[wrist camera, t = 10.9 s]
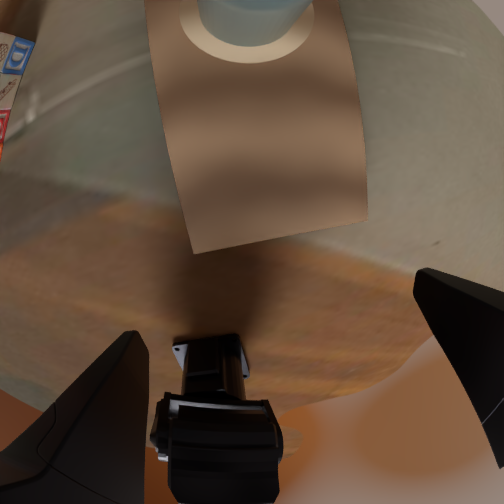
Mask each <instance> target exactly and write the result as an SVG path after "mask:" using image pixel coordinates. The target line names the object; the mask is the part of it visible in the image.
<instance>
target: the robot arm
mask: <svg viewBox="0 0 504 504" xmlns="http://www.w3.org/2000/svg"><path fill="white" fill-rule="evenodd" d="M413 296H414V298H415V300H416V302H417V304H418V306H419V308H420V310H421V312H422V313H423V315H424V317H425V319H426V321H427V323H428V325H429V327H430V329H431V331H432V333H433V334H434V336H435V338H436V339H437V341H438V343H439V344H440V346H441V347H442V349H443V351H444V353H445V354H446V356H447V358H448V360H449V361H450V363H451V365H452V367H453V368H454V370H455V372H456V374H457V375H458V377H459V379H460V381H461V383H462V385H463V387H464V388H465V391H466V393H467V394H468V396H469V398H470V400H471V402H472V405H473V407H474V409H475V411H476V413H477V415H478V417H479V419H480V421H481V423H482V426H483V429H484V431H485V433H486V436H487V438H488V441H489V443H490V446H491V448H492V451H493V453H494V456H495V459H496V462H497V464H498V467H499V469H501V468H502V467H504V292H502V291H499V290H496V289H493V288H490V287H487V286H484V285H481V284H478V283H475V282H472V281H469V280H466V279H463V278H460V277H457V276H454V275H450V274H447V273H444V272H441V271H438V270H434V269H431V268H423V269H420V270H418V271H417V272H416V276H415V282H414V287H413ZM233 339H235V340H233ZM176 347H177V348H176ZM172 350H173V352H174V354H175V356H176V358H177V360H178V362H179V364H180V366H181V368H182V370H183V377H182V390H181V395H178V394H171V393H170V392H165V393H164V399H161V401H159V402H157V406H156V414H155V419H154V423H153V426H152V429H151V433H150V441H151V443H152V444H153V445H154V446H155V447H156V452H158V459H159V461H165V462H168V486H169V488H170V490H171V492H172V494H173V495H174V497H175V499H176V500H177V502H178V503H179V504H273V503H274V502H275V500H276V498H277V496H278V494H279V491H280V490H279V480H278V464H279V463H280V461H281V459H282V455H283V436H282V432H281V429H280V426H279V424H278V422H277V420H276V417H275V415H274V413H273V410H272V408H271V406H270V404H269V401H268V400H246V395H245V387H244V379H247V378H249V377H250V374H249V370H248V366H247V363H246V359H245V355H244V352H243V348H242V345H241V341H240V337H239V335H237V334H229V335H223V336H218V337H212V338H205V339H199V340H192V341H185V342H178V343H174V344H173V346H172ZM148 404H149V352H148V349H147V347H146V345H145V343H144V341H143V339H142V338H141V336H140V334H139V332H138V331H136V330H132V331H125V332H124V333H123V334H121V335H120V336H119V337H118V338H117V339H116V340H115V341H114V342H113V343H112V344H111V345H110V346H109V347H108V348H107V349H106V350H105V351H104V352H103V353H102V354H101V355H100V356H99V357H98V358H97V359H96V360H95V361H94V362H93V363H92V364H91V365H90V366H89V367H88V368H87V369H86V370H85V371H84V372H83V373H82V374H81V375H80V376H79V377H78V378H77V379H76V380H75V381H74V382H73V383H72V384H71V385H70V386H69V387H68V388H67V389H66V390H65V391H64V392H63V393H62V394H61V395H60V396H59V397H58V398H57V399H56V401H55V402H53V404H52V405H51V406H50V407H49V408H48V409H47V410H46V411H45V412H44V413H43V414H42V415H41V416H40V417H39V418H38V419H37V420H36V421H35V422H34V423H33V424H32V425H31V426H29V427H28V428H27V429H26V430H25V431H24V432H23V433H22V434H21V435H19V436H18V438H16V439H15V440H14V441H13V442H12V443H11V444H10V445H9V446H7V447H6V448H5V449H4V450H3V451H1V452H0V504H144V467H145V444H146V428H147V415H148Z"/></svg>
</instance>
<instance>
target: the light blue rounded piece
mask: <svg viewBox="0 0 504 504" xmlns="http://www.w3.org/2000/svg"><path fill="white" fill-rule="evenodd" d="M312 1H313V0H197V4H198V10H199V16H200V19H201V22H202V24H203V26H204V27H205V28H206V30H207V31H208V32H209V33H210V34H211V35H213V36H214V37H216V38H217V39H219V40H221V41H223V42H225V43H228V44H231V45H236V46H243V47H255V46H262V45H266V44H270V43H272V42H275V41H276V40H278V39H280V38H281V37H283V36H284V35H285V34H286V33H287V32H288V31H289V30H290V28H291V27H292V26H293V25H294V23H295V22H296V21H297V20H298V18H299V17H300V16H301V15H302V13H303V12H304V11H305V10H306V9H307V7H308V6H309V5H310V4H311V3H312Z"/></svg>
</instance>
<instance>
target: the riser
mask: <svg viewBox="0 0 504 504" xmlns="http://www.w3.org/2000/svg"><path fill="white" fill-rule="evenodd" d="M144 3H145V13H146V22H147V30H148V38H149V46H150V53H151V59H152V66H153V72H154V79H155V85H156V90H157V96H158V102H159V107H160V112H161V118H162V123H163V128H164V133H165V138H166V142H167V147H168V152H169V156H170V161H171V165H172V170H173V174H174V179H175V183H176V187H177V191H178V195H179V199H180V203H181V207H182V211H183V215H184V219H185V223H186V227H187V231H188V234H189V238H190V242H191V245H192V249H193V253H194V254H198V253H203V252H208V251H213V250H218V249H223V248H228V247H233V246H238V245H243V244H248V243H254V242H259V241H264V240H269V239H274V238H279V237H284V236H289V235H295V234H300V233H305V232H310V231H315V230H321V229H326V228H331V227H337V226H342V225H347V224H353V223H358V222H363V221H368V202H367V175H366V158H365V146H364V135H363V125H362V117H361V109H360V102H359V95H358V88H357V82H356V76H355V71H354V66H353V61H352V56H351V51H350V46H349V42H348V38H347V33H346V29H345V25H344V21H343V18H342V14H341V11H340V7H339V4H338V0H313V1H312V3H311V4H310V5H309V6H308V7H307V9H306V10H305V11H304V12H303V13H302V15H301V16H300V17H299V18H298V20H297V21H296V22H295V23H294V25H293V26H292V27H291V28H290V30H289V31H288V32H287V33H286V34H285V35H284V36H283V37H281V38H280V39H278V40H276V41H275V42H272V43H270V44H266V45H262V46H255V47H243V46H236V45H231V44H228V43H225V42H223V41H221V40H219V39H217V38H216V37H214V36H213V35H211V34H210V33H209V32H208V31H207V30H206V28H205V27H204V26H203V24H202V22H201V19H200V16H199V10H198V4H197V0H144Z"/></svg>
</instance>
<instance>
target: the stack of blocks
mask: <svg viewBox="0 0 504 504" xmlns="http://www.w3.org/2000/svg"><path fill="white" fill-rule="evenodd" d="M34 45H35V43H34V42H32V41H29V40H26V39H23V38H20V37H17V36H14V35H11V34H7V33H4V32H0V160H1V154H2V148H3V140H4V136H5V131H6V127H7V122H8V118H9V114H10V109H11V108H12V105H13V102H14V98H15V95H16V92H17V89H18V86H19V83H20V80H21V77H22V74H23V72H24V69H25V66H26V64H27V61H28V59H29V56H30V54H31V51H32V49H33V47H34Z"/></svg>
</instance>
